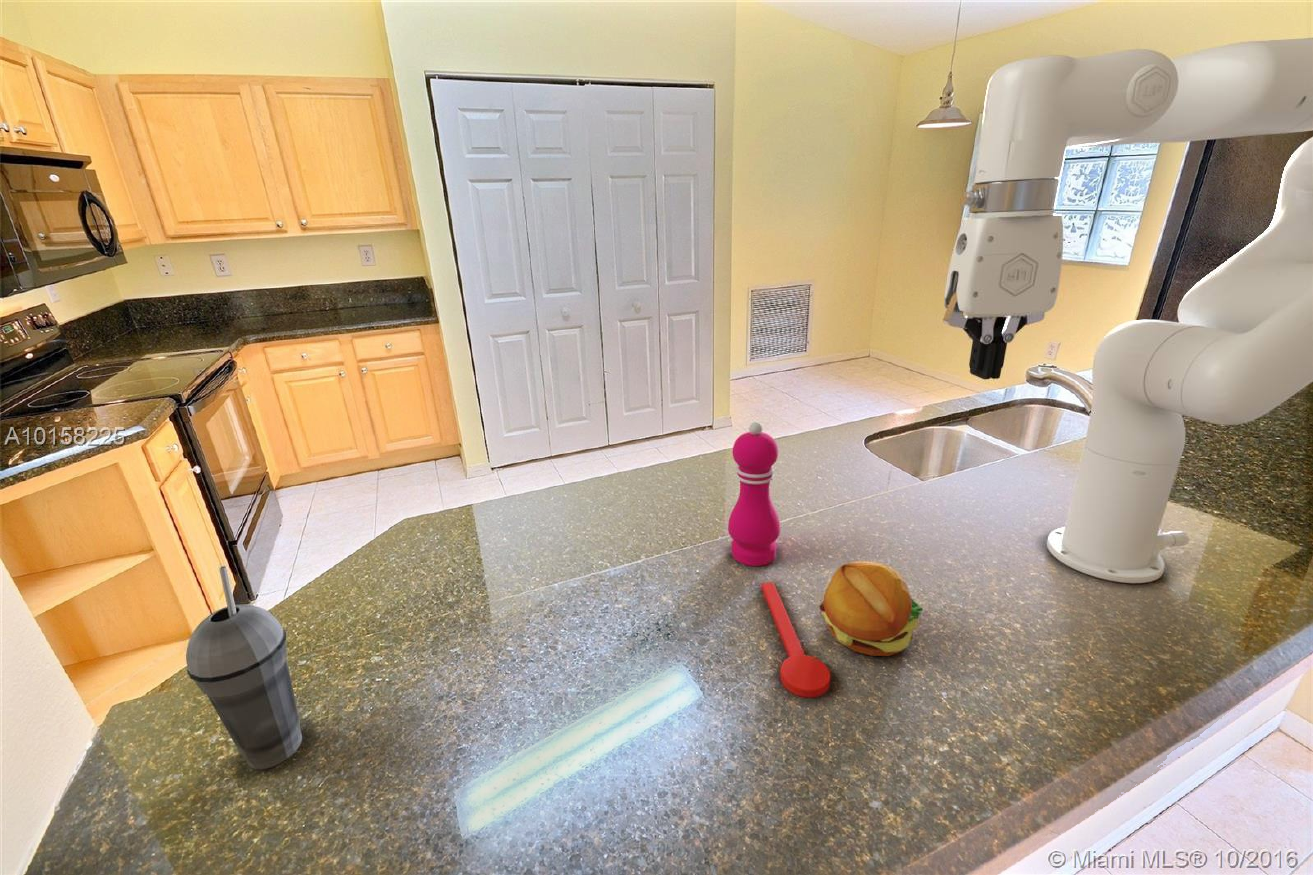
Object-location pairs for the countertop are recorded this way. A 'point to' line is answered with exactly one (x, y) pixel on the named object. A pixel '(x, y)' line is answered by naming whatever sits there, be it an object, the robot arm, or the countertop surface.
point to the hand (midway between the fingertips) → (984, 375)
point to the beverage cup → (247, 679)
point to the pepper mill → (754, 499)
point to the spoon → (796, 653)
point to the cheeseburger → (870, 609)
